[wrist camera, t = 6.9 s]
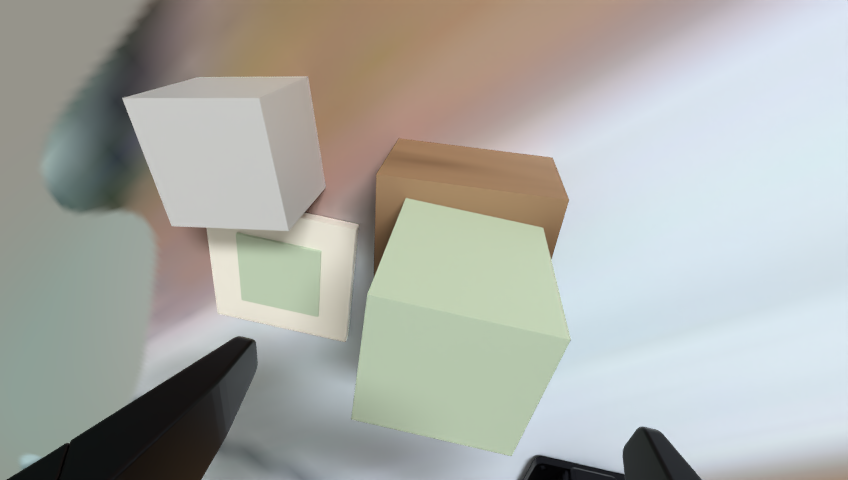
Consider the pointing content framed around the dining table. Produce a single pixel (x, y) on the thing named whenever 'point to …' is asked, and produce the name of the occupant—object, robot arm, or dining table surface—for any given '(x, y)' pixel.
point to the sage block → (459, 328)
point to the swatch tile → (287, 275)
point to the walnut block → (469, 186)
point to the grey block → (231, 150)
